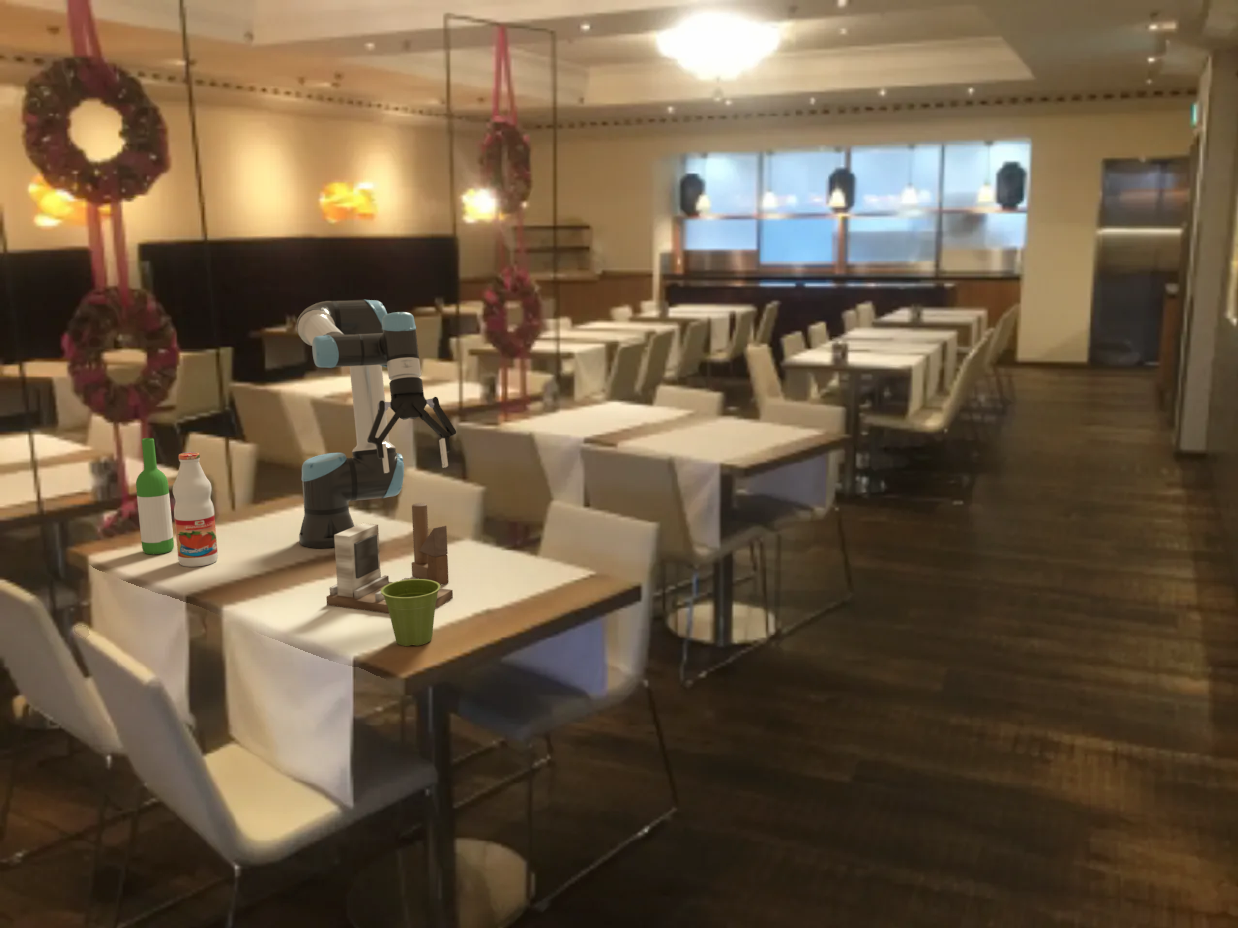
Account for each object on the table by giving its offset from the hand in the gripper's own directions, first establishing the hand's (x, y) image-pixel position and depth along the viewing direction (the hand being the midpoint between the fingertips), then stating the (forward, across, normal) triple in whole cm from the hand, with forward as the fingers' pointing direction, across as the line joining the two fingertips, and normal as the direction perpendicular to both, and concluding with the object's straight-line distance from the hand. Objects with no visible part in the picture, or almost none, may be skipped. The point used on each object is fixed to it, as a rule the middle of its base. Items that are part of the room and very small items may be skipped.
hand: (416, 469), depth 250 cm
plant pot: (+38, -10, -24) cm, 46 cm away
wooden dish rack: (+29, -9, 0) cm, 31 cm away
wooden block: (+26, +3, +12) cm, 28 cm away
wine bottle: (+8, -57, +63) cm, 85 cm away
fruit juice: (+13, -48, +49) cm, 69 cm away
